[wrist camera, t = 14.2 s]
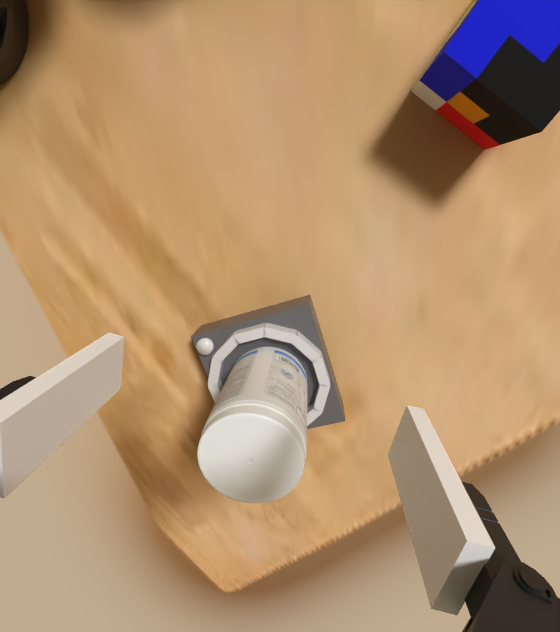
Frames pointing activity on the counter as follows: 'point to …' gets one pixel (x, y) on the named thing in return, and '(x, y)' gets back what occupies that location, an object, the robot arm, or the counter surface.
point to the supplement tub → (257, 428)
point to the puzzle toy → (498, 71)
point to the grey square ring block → (281, 332)
